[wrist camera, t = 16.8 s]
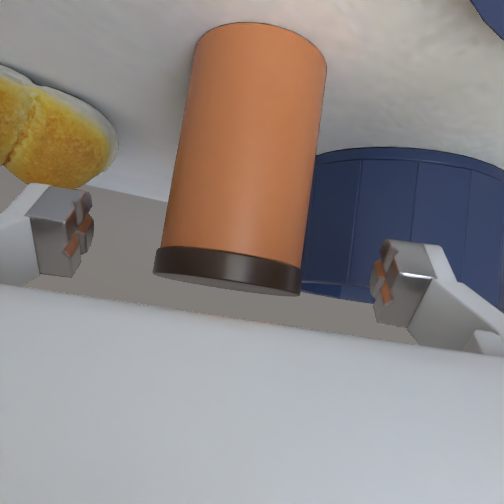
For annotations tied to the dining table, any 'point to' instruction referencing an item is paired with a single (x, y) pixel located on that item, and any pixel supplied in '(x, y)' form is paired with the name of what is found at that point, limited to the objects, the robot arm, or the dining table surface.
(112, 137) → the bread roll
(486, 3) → the tin lid
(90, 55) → the dining table surface
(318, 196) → the tin
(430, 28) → the dining table surface
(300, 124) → the cylinder
